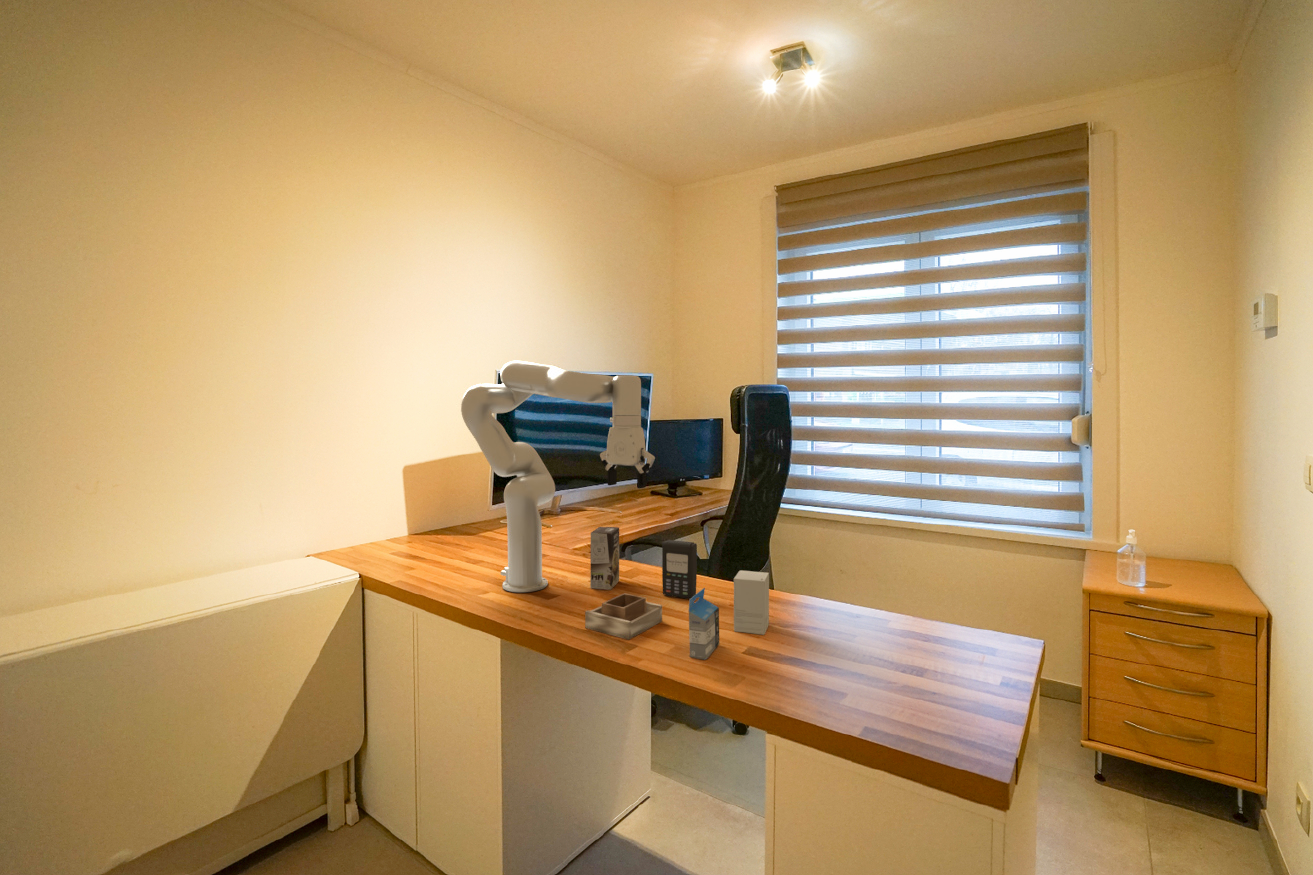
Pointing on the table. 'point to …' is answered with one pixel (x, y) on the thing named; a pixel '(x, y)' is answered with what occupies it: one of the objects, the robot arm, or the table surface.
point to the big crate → (623, 622)
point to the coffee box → (604, 558)
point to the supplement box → (751, 602)
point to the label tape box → (703, 626)
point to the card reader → (679, 568)
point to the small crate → (625, 607)
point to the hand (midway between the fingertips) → (626, 486)
